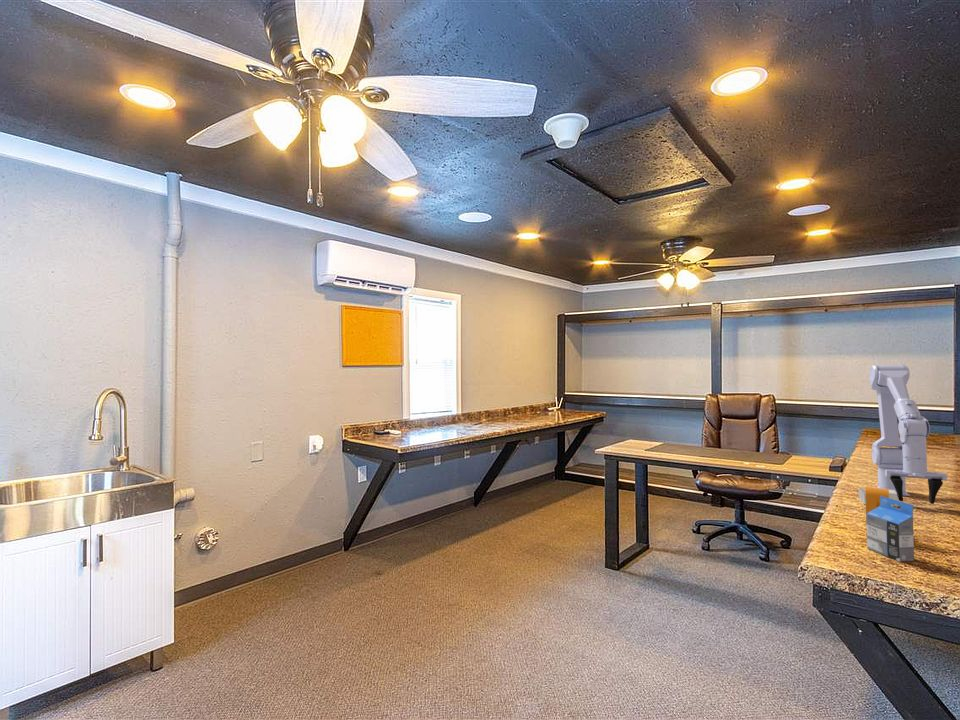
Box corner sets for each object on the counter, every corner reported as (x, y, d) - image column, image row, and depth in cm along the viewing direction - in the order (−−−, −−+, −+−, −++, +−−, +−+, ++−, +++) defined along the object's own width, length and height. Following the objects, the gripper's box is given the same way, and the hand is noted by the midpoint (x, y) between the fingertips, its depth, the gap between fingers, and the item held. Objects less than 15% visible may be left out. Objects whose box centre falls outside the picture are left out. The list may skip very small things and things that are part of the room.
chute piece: (876, 500, 166) (875, 488, 167) (895, 502, 164) (895, 490, 164) (877, 504, 161) (877, 491, 162) (898, 506, 159) (897, 493, 159)
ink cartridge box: (865, 548, 121) (864, 495, 121) (881, 548, 121) (879, 495, 122) (899, 562, 112) (897, 505, 113) (916, 561, 112) (914, 504, 113)
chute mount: (858, 498, 170) (858, 487, 170) (885, 500, 167) (885, 489, 167) (864, 504, 161) (864, 493, 161) (892, 507, 158) (892, 495, 158)
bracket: (904, 545, 124) (902, 494, 124) (866, 539, 128) (865, 490, 128) (902, 534, 132) (901, 486, 132) (867, 529, 136) (865, 483, 137)
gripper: (888, 457, 159) (889, 502, 159) (949, 461, 153) (951, 507, 152) (883, 454, 166) (884, 497, 165) (941, 457, 159) (943, 502, 159)
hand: (916, 501), depth 159 cm, fingers open, 7 cm apart
